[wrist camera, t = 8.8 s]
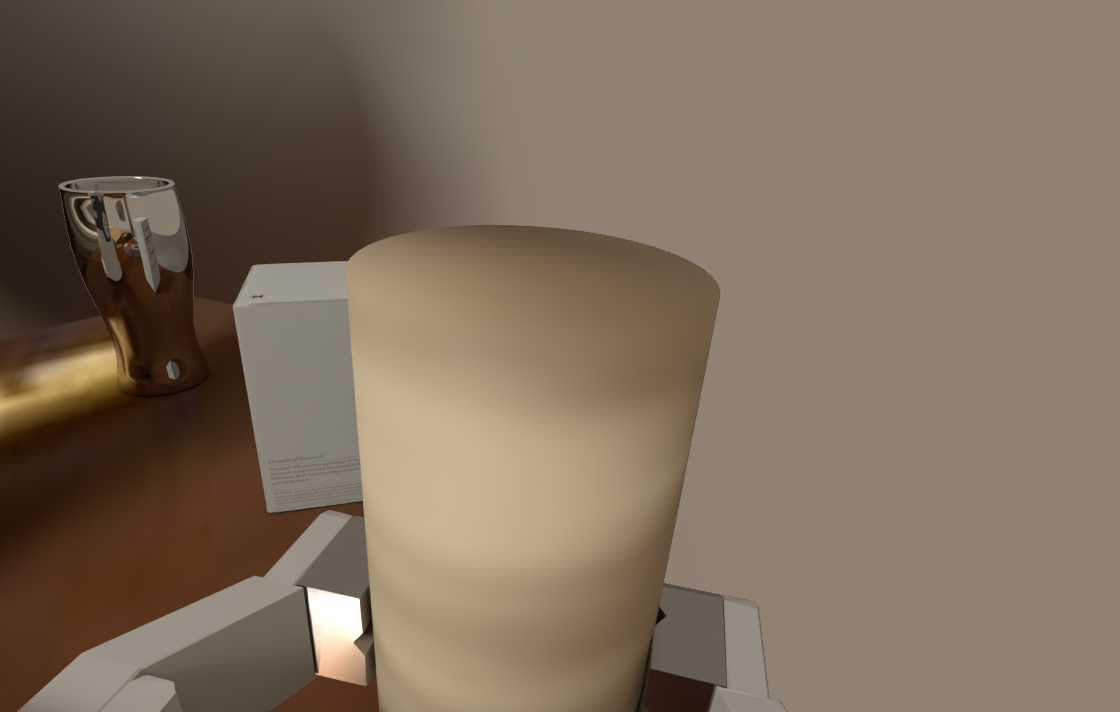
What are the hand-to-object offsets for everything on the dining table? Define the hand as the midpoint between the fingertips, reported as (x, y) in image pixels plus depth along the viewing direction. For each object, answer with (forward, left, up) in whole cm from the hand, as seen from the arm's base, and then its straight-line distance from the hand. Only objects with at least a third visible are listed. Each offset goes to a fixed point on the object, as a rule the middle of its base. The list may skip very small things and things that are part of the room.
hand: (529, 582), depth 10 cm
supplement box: (+10, +25, -16) cm, 31 cm away
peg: (-1, 0, -8) cm, 8 cm away
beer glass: (+7, +45, -16) cm, 48 cm away
